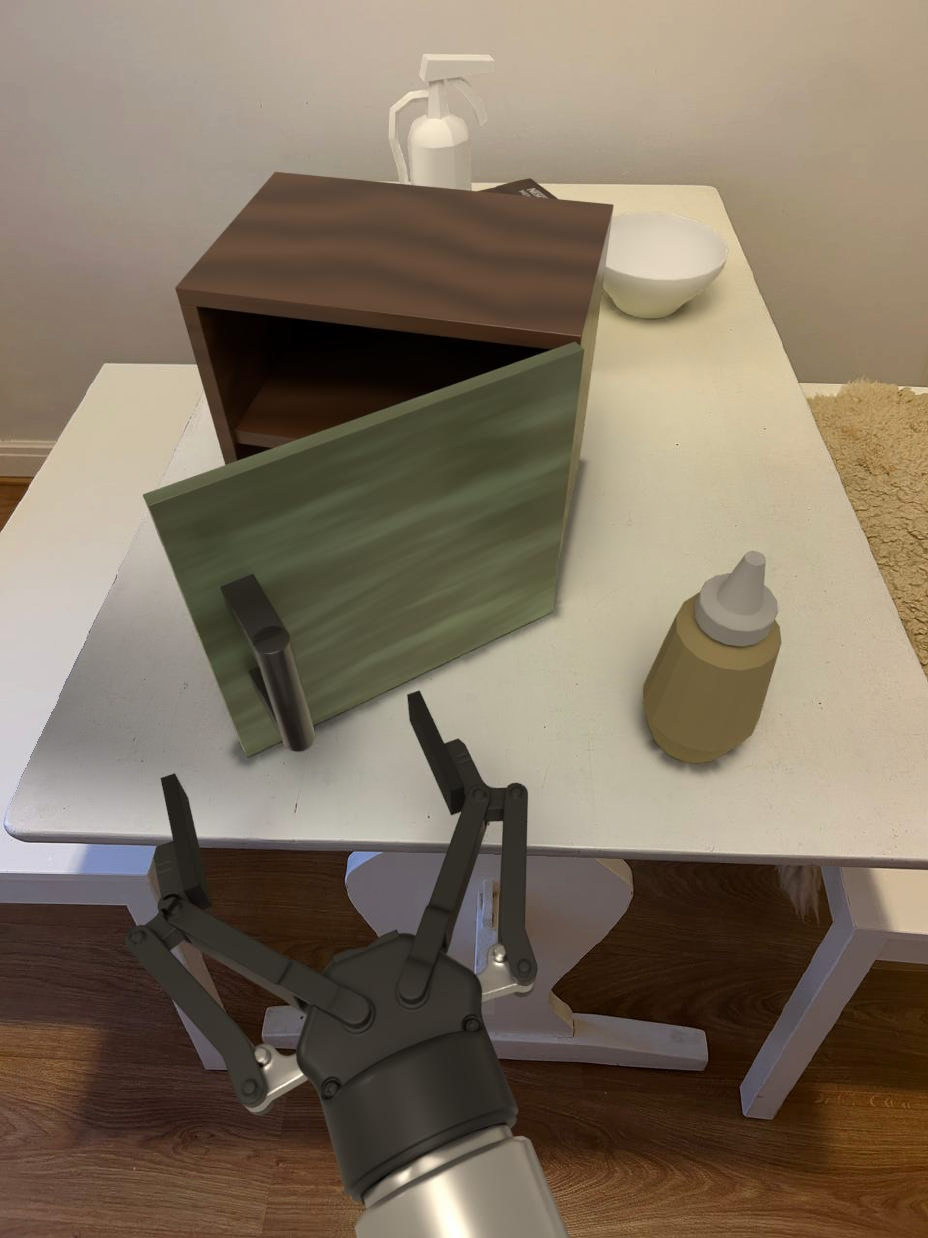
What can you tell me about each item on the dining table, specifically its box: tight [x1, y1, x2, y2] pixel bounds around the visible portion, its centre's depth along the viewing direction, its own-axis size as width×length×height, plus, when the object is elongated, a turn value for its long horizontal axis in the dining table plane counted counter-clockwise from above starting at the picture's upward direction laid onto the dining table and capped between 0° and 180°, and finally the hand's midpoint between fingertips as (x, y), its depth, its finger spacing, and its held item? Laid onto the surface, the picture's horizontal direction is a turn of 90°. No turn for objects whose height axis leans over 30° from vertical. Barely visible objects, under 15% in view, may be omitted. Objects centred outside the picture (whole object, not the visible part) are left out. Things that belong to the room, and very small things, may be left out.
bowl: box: [603, 211, 730, 320], centre depth 96 cm, size 16×16×7 cm
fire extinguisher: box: [387, 53, 496, 191], centre depth 90 cm, size 7×12×25 cm, turn 104°
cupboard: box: [174, 171, 614, 564], centre depth 67 cm, size 18×26×24 cm
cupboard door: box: [142, 342, 584, 758], centre depth 53 cm, size 7×26×24 cm, turn 121°
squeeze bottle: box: [642, 550, 782, 764], centre depth 54 cm, size 8×8×18 cm
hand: (298, 744), depth 46 cm, fingers open, 13 cm apart
